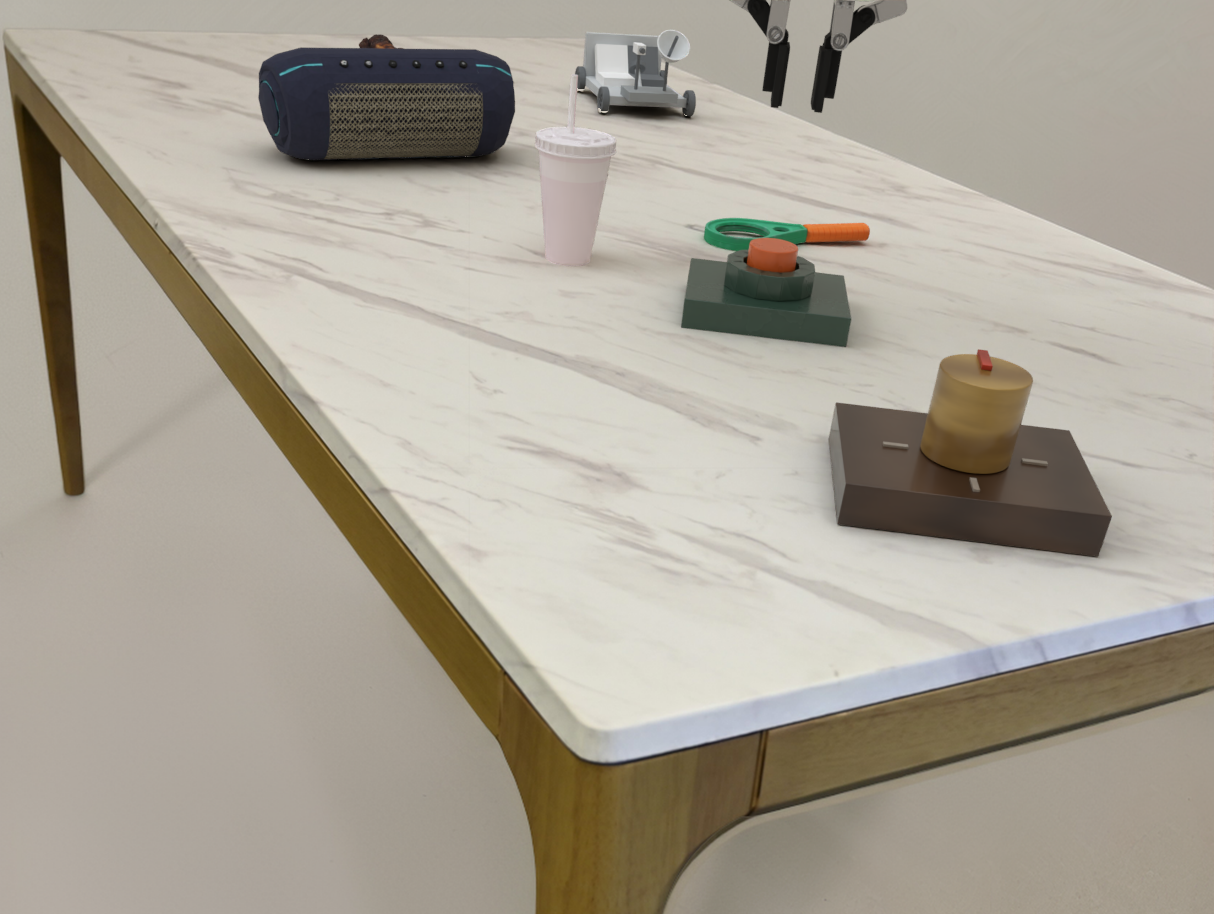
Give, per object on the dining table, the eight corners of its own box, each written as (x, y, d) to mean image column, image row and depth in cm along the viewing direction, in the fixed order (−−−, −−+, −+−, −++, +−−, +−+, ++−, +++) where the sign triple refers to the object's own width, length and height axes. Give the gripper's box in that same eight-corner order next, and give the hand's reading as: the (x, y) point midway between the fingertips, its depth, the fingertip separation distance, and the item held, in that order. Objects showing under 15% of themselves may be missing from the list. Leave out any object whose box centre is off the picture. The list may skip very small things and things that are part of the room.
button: (794, 263, 95) (798, 240, 94) (795, 278, 92) (799, 254, 91) (746, 258, 95) (749, 235, 95) (746, 273, 92) (749, 249, 91)
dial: (1015, 479, 69) (1041, 389, 66) (923, 467, 69) (945, 376, 66) (1004, 441, 73) (1028, 355, 70) (917, 430, 73) (937, 343, 71)
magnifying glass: (716, 252, 108) (718, 233, 107) (694, 231, 113) (696, 212, 112) (877, 253, 112) (881, 234, 111) (849, 232, 117) (853, 214, 116)
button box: (838, 302, 100) (848, 252, 98) (845, 347, 91) (856, 293, 89) (687, 284, 100) (693, 234, 98) (680, 328, 92) (687, 274, 90)
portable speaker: (278, 174, 117) (272, 58, 112) (254, 147, 125) (247, 37, 119) (528, 167, 127) (534, 60, 122) (493, 142, 135) (496, 41, 129)
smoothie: (560, 241, 107) (571, 64, 99) (622, 260, 104) (638, 79, 97) (512, 257, 102) (520, 72, 95) (576, 277, 99) (589, 88, 92)
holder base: (1058, 467, 77) (1070, 427, 75) (1098, 557, 68) (1113, 513, 66) (828, 439, 78) (836, 399, 76) (837, 524, 68) (846, 480, 67)
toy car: (711, 35, 146) (614, 30, 143) (700, 124, 151) (607, 120, 148) (667, 10, 161) (579, 5, 158) (659, 92, 166) (573, 88, 163)
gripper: (713, -223, 75) (678, 104, 85) (984, -196, 74) (916, 130, 84) (717, -220, 81) (684, 84, 91) (967, -195, 81) (906, 108, 91)
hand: (796, 104), depth 88 cm, fingers closed
